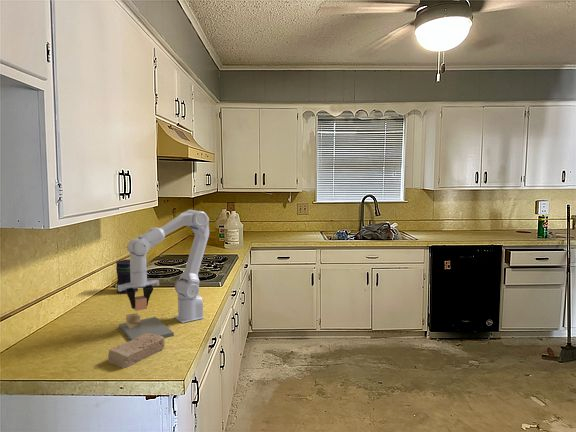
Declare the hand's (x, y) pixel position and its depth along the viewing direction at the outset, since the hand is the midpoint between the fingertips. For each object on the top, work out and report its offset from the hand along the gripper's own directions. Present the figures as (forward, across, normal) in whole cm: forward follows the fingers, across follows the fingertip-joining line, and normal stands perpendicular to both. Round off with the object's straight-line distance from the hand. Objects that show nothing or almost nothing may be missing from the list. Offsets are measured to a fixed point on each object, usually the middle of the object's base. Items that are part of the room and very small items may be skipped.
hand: (139, 306), depth 154 cm
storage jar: (+9, +11, +56) cm, 57 cm away
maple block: (+8, -2, +3) cm, 8 cm away
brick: (+10, -7, -21) cm, 24 cm away
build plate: (+9, +1, -2) cm, 9 cm away
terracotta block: (0, 0, 0) cm, 1 cm away
